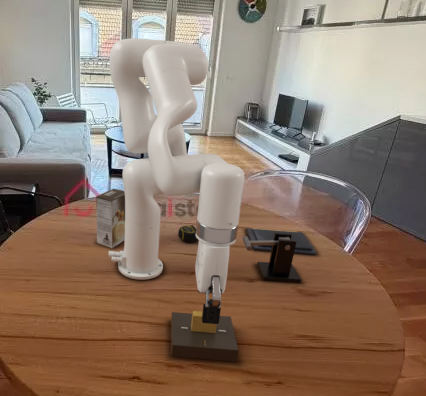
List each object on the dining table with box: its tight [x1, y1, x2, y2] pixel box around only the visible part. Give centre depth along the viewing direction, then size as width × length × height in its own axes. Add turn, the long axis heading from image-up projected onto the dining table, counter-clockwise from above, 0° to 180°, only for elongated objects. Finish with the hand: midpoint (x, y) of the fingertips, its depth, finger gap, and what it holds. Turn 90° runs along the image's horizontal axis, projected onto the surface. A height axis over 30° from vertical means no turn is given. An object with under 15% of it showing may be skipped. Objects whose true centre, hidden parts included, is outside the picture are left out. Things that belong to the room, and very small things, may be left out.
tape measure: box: [177, 225, 199, 243], centre depth 120 cm, size 7×7×4 cm
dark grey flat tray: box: [245, 227, 317, 256], centre depth 122 cm, size 20×2×15 cm
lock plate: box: [170, 311, 239, 363], centre depth 77 cm, size 13×10×3 cm
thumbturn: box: [191, 310, 217, 333], centre depth 76 cm, size 5×2×4 cm, turn 87°
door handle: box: [242, 235, 290, 252], centre depth 101 cm, size 12×6×2 cm, turn 87°
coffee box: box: [95, 188, 125, 249], centre depth 115 cm, size 9×6×16 cm
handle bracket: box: [256, 232, 302, 284], centre depth 102 cm, size 10×8×12 cm
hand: (207, 306), depth 74 cm, fingers open, 9 cm apart
